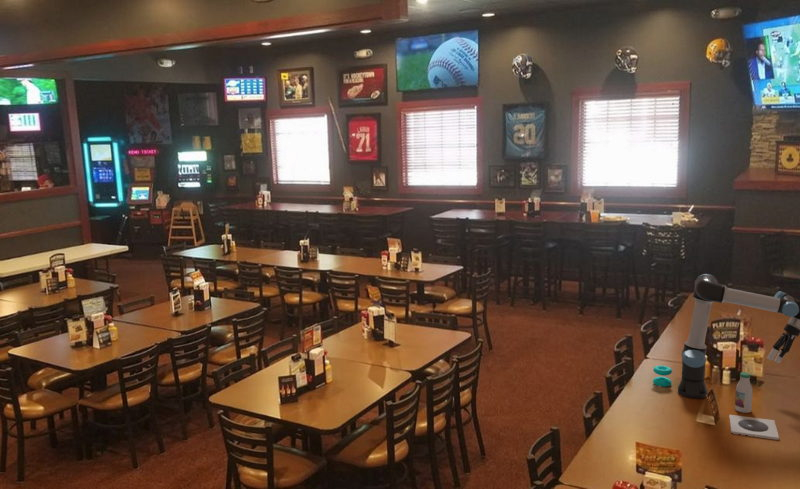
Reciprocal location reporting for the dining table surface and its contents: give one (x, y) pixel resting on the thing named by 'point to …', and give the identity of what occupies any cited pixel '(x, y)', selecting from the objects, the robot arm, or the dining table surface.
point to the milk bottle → (743, 394)
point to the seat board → (753, 427)
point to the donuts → (663, 371)
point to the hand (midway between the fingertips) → (772, 361)
